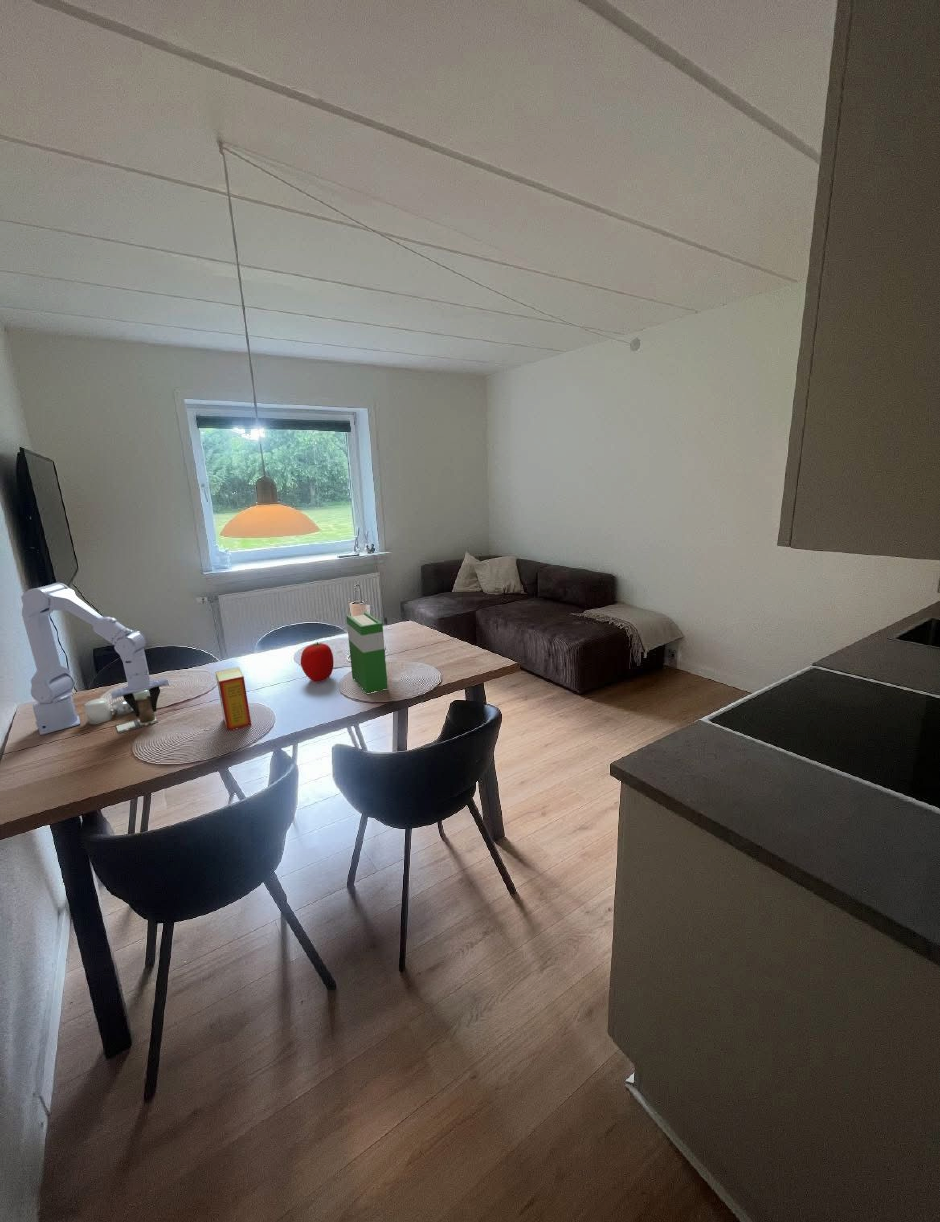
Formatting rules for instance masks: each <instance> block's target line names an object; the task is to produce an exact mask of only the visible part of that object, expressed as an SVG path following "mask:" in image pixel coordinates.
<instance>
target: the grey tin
mask: <svg viewBox="0 0 940 1222" xmlns="http://www.w3.org/2000/svg"><path fill="white" fill-rule="evenodd" d="M111 706H112V707H111V708H112V710H113V711H112V712H113V714H114V716H116V717H122V716H126V715H129V714H130V713H132V712H133V709H132V708H131V706H130V705H129V704H128V703H127V702H126V701H125V700H124V699H121V700H118V701H115V702H113V703H112V704H111Z"/></svg>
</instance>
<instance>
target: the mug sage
mask: <svg viewBox="0 0 940 1222" xmlns="http://www.w3.org/2000/svg"><path fill="white" fill-rule="evenodd" d="M133 695H134V698H135V700H136V699H137V698H139V697H143V696H150V693H149V690H146V691H142V692H138V693H134V694H133Z"/></svg>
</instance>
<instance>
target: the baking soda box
mask: <svg viewBox="0 0 940 1222" xmlns="http://www.w3.org/2000/svg"><path fill="white" fill-rule="evenodd" d="M214 673H215V677H216V683H217V688H218V689H217V690H218V694H219V696H218V697H219V701H220V707H221V713H222V717H223V721H224V725H225V727H226V730H227V732H230V731H229V730H231V731H234V730H233V729H235V730H237V729H236V728H238V729H242V728H245V726H246V727H249V726H248V725H250V726H252V719H251V713H250V706H249V701H248V695H247V689H246V681H245V677H244V674H243V672H242V671H241V668H240V667H239V666H237V667H233V668H232V667H231V668H227V669H224V670H217V671H215V672H214Z"/></svg>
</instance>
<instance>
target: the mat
mask: <svg viewBox="0 0 940 1222" xmlns="http://www.w3.org/2000/svg"><path fill="white" fill-rule="evenodd" d="M157 723H159V721H158V719H157V718H156V716H155V719H154V720H152V721H149V722H145V723H141V722H140V720H139V718H136V719H133V720H129V721H125V722H121V723H118V724H115V727H116V730H117V733H118V734H122V733H127V732H130V731H133V730H137V729H140V728H143V727H146V726H147V727H148V726H150V725H154V724H157Z"/></svg>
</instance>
